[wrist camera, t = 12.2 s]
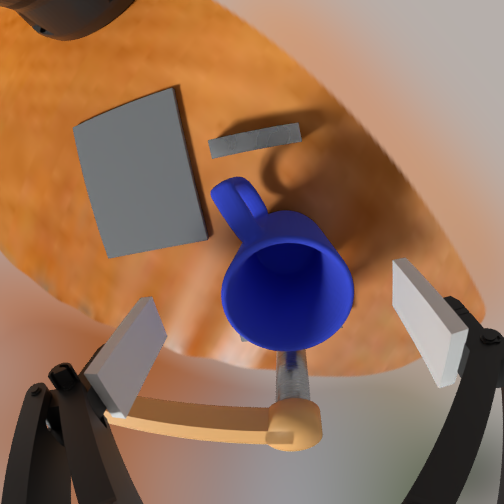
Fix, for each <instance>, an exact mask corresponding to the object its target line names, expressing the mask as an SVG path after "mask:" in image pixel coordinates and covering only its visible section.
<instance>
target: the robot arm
mask: <svg viewBox="0 0 504 504" xmlns="http://www.w3.org/2000/svg"><path fill="white" fill-rule="evenodd" d="M133 1H134V0H0V6H2V7H6V8H10V9H13V10H15V11H16V12H17V13H18V14H19V15H20V16H21V17H22V18H23V19H24V20H25V21H26V22H27V23H28V24H29V25H30V26H32V27H33V29H34V30H35V31H37V32H38V33H39V34H41V35H43V36H46V37H49V38H52V39H56V40H61V41H69V40H75V39H79V38H82V37H85V36H87V35H89V34H91V33H93V32H95V31H97V30H99V29H101V28H102V27H104V26H105V25H107V24H108V23H110V22H111V21H112V20H114V19H115V18H116V17H117V16H119V15H120V14H121V13H122V12H123V11H124V10H125V9H126V8H127V7H128V6H129V5H130V4H131V3H132V2H133ZM392 306H393V307H394V309H395V310H396V312H397V314H398V315H399V317H400V319H401V321H402V322H403V324H404V326H405V327H406V329H407V331H408V333H409V334H410V336H411V338H412V340H413V341H414V343H415V345H416V347H417V349H418V350H419V352H420V354H421V356H422V358H423V359H424V361H425V363H426V365H427V367H428V369H429V371H430V373H431V375H432V377H433V378H434V380H435V382H436V384H437V386H438V388H442V387H445V386H448V385H451V384H454V383H455V380H456V377H457V373H458V374H459V375H460V377H461V381H460V385H459V387H458V390H457V393H456V396H455V398H454V401H453V404H452V406H451V409H450V412H449V414H448V416H447V419H446V421H445V423H444V426H443V428H442V430H441V432H440V435H439V437H438V439H437V441H436V443H435V445H434V448H433V450H432V451H431V453H430V455H429V457H428V459H427V461H426V463H425V465H424V467H423V469H422V470H421V472H420V474H419V476H418V478H417V479H416V481H415V483H414V485H413V486H412V488H411V490H410V491H409V493H408V494H407V496H406V498H405V499H404V501H403V502H402V504H456V502H457V500H458V498H459V496H460V493H461V491H462V489H463V487H464V485H465V483H466V480H467V478H468V475H469V473H470V471H471V468H472V466H473V463H474V460H475V458H476V455H477V452H478V449H479V447H480V444H481V441H482V437H483V434H484V431H485V428H486V424H487V421H488V417H489V414H490V410H491V406H492V402H493V398H494V394H495V389H496V388H501V390H502V406H503V454H502V468H501V479H500V487H499V495H498V501H497V504H504V337H503V336H502V335H501V334H500V333H499V332H498V331H496V330H493V329H488V328H483V327H482V326H481V324H480V323H479V322H478V321H477V320H476V319H475V318H474V316H473V315H472V314H471V313H469V311H468V310H467V309H466V308H465V306H464V305H463V304H462V303H461V302H460V301H459V300H457V299H455V298H453V297H451V296H448V297H444V298H442V296H441V295H440V294H439V293H438V292H437V291H436V290H435V289H434V287H433V286H432V285H431V284H430V283H429V282H428V281H427V280H426V279H425V278H424V276H423V275H422V274H421V273H420V272H419V271H418V270H417V269H416V268H415V267H414V266H413V265H412V264H411V263H410V262H409V261H408V260H407V258H401V259H395V260H393V303H392ZM166 338H167V334H166V332H165V329H164V327H163V324H162V322H161V319H160V316H159V314H158V311H157V309H156V306H155V303H154V301H153V298H152V297H144V298H140V299H139V301H138V302H137V303H136V304H135V306H134V307H133V308H132V309H131V311H130V312H129V313H128V315H127V316H126V317H125V318H124V320H123V321H122V322H121V324H120V325H119V326H118V328H117V329H116V330H115V332H114V333H113V335H112V336H111V337H110V338H109V340H108V341H107V342H106V343H105V344H103V345H102V346H101V347H100V348H98V349H97V351H96V352H95V353H94V355H93V357H91V359H90V360H89V362H88V363H87V364H86V365H85V367H84V368H83V370H82V371H81V372H80V374H79V375H77V374H76V372H75V370H74V369H73V367H72V365H71V364H70V363H61V364H59V365H57V366H55V367H54V368H53V369H52V370H51V371H50V372H49V375H48V377H49V379H50V380H51V382H52V383H53V385H54V387H55V388H56V389H55V390H49V389H48V388H47V387H46V385H45V384H44V383H37V384H34V385H33V386H31V387H30V388H29V389H28V391H27V393H26V395H25V398H24V401H23V405H22V408H21V411H20V415H19V418H18V422H17V425H16V429H15V433H14V437H13V441H12V445H11V450H10V454H9V459H8V464H7V470H6V475H5V481H4V487H3V494H2V503H1V504H71V477H72V481H73V485H74V489H75V493H76V496H77V500H78V503H79V504H143V502H142V500H141V499H140V496H139V495H138V493H137V490H136V488H135V486H134V484H133V482H132V480H131V478H130V476H129V473H128V471H127V469H126V466H125V464H124V462H123V459H122V457H121V455H120V452H119V450H118V447H117V445H116V443H115V440H114V437H113V434H112V432H111V429H110V426H109V423H108V420H107V418H106V417H105V416H104V412H105V411H106V409H107V410H108V411H109V413H110V414H111V416H112V417H115V418H123V419H126V417H127V415H128V413H129V411H130V409H131V407H132V405H133V403H134V401H135V399H136V397H137V395H138V393H139V391H140V389H141V387H142V385H143V383H144V381H145V379H146V377H147V375H148V373H149V371H150V369H151V367H152V365H153V363H154V361H155V359H156V357H157V355H158V353H159V352H160V350H161V348H162V346H163V344H164V342H165V340H166ZM46 424H47V425H48V429H47V426H46Z"/></svg>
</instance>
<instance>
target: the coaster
mask: <svg viewBox="0 0 504 504" xmlns="http://www.w3.org/2000/svg"><path fill="white" fill-rule="evenodd" d="M73 132H74V137H75V142H76V146H77V151H78V155H79V160H80V164H81V168H82V172H83V176H84V180H85V184H86V188H87V192H88V195H89V199H90V202H91V206H92V209H93V213H94V216H95V219H96V223H97V226H98V229H99V232H100V235H101V238H102V241H103V244H104V247H105V250H106V253H107V256H108V259H109V258H114V257H119V256H124V255H130V254H135V253H140V252H145V251H151V250H156V249H161V248H167V247H172V246H177V245H183V244H188V243H194V242H199V241H205V240H208V239H209V236H208V232H207V228H206V224H205V220H204V217H203V213H202V209H201V205H200V200H199V196H198V192H197V188H196V184H195V180H194V176H193V172H192V167H191V163H190V159H189V154H188V150H187V146H186V141H185V137H184V132H183V128H182V123H181V119H180V114H179V109H178V105H177V100H176V95H175V90H174V88H170V89H167V90H164V91H161V92H158V93H155V94H152V95H149V96H146V97H143V98H141V99H138V100H135V101H133V102H130V103H128V104H125V105H123V106H120V107H118V108H115V109H113V110H110V111H108V112H106V113H103V114H101V115H99V116H97V117H94V118H92V119H90V120H88V121H86V122H83V123H81V124H79V125H77V126H75V127H73Z"/></svg>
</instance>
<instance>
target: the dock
mask: <svg viewBox="0 0 504 504" xmlns="http://www.w3.org/2000/svg"><path fill="white" fill-rule="evenodd" d="M296 142H302V139H301V134H300V128H299V123H292V124H286V125H280V126H274V127H269V128H263V129H258V130H253V131H248V132H243V133H238V134H234V135H229V136H225V137H220V138H216V139H212V140H208V143H209V147H210V152H211V156H212V159H214V158H218V157H222V156H227V155H232V154H236V153H241V152H246V151H251V150H256V149H262V148H267V147H273V146H278V145H284V144H290V143H296ZM340 328H343V327H342V326H341V327H340ZM240 337H241V341H242V342H244V341H248V340H246V339H245V338H244V337H242V336H241V335H240ZM289 398H302V399H307V400H310V393H309V382H308V370H307V360H306V350H305V349H303V350H298V351H277V367H276V402H278V401H280V400H284V399H289Z"/></svg>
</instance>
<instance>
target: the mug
mask: <svg viewBox="0 0 504 504" xmlns="http://www.w3.org/2000/svg"><path fill="white" fill-rule="evenodd" d="M211 197H212V199H213V201H214V203H215V204H216V206H217V208H218V209H219V211H220V212H221V214H222V215H223V217H224V218H225V220H226V221H227V223H228V225H229V226H230V227H231V229H232V230H233V231H234V233H235V234H236V235H237V237H238V238H239V239H240V240H241V241H242V245H241V246H240V248H239V250H238V252H237V254H236V255H235V257H234V259H233V261H232V262H231V264H230V266H229V268H228V270H227V272H226V274H225V277H224V280H223V283H222V290H221V298H222V305H223V309H224V312H225V315H226V317H227V319H228V321H229V322H230V324H231V325H232V327H233V328H234V329H235V330H236V331H237V332H238V333H239V334H240V335H241V336H242V337H244V338H245V339H246V340H248V341H249V342H251V343H253V344H255V345H257V346H260V347H262V348H266V349H269V350H274V351H298V350H303V349H307V348H310V347H313V346H316V345H318V344H320V343H322V342H324V341H325V340H327V339H328V338H330V337H331V336H332V335H333V334H335V333H336V332H337V331H338V330H339V329H340V327H341V326H342V325H343V324H344V322H345V321H346V319H347V317H348V315H349V313H350V310H351V308H352V304H353V299H354V284H353V279H352V276H351V273H350V271H349V268H348V267H347V265H346V263H345V262H344V260H343V259H342V258H341V256H340V255H339V253H338V252H337V251H336V249H335V248H334V247H333V245H332V244H331V243H330V241H329V240H328V239H327V237H326V236H325V235H324V233H323V232H322V231H321V229H320V228H319V227H318V226H317V224H316V223H315V222H314V221H313V220H311V219H310V218H309V217H307V216H305V215H303V214H301V213H298V212H295V211H289V210H282V211H276V212H273V213H270V214H268V212H267V209H266V206H265V204H264V202H263V201H262V199H261V197H260V196H259V194H258V193H257V191H256V190H255V188H254V187H253V186H252V184H251V183H250V182H249V181H248V180H246V179H245V178H243V177H233V178H229V179H227V180H224V181H222V182H221V183H219V184H218V185H216V186H215V187H214V188H213V189H212V190H211ZM245 203H246V204H245ZM246 205H247V206H248V207H247V206H246ZM248 208H249V209H248ZM250 211H251V212H250ZM251 213H252V214H251Z"/></svg>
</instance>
